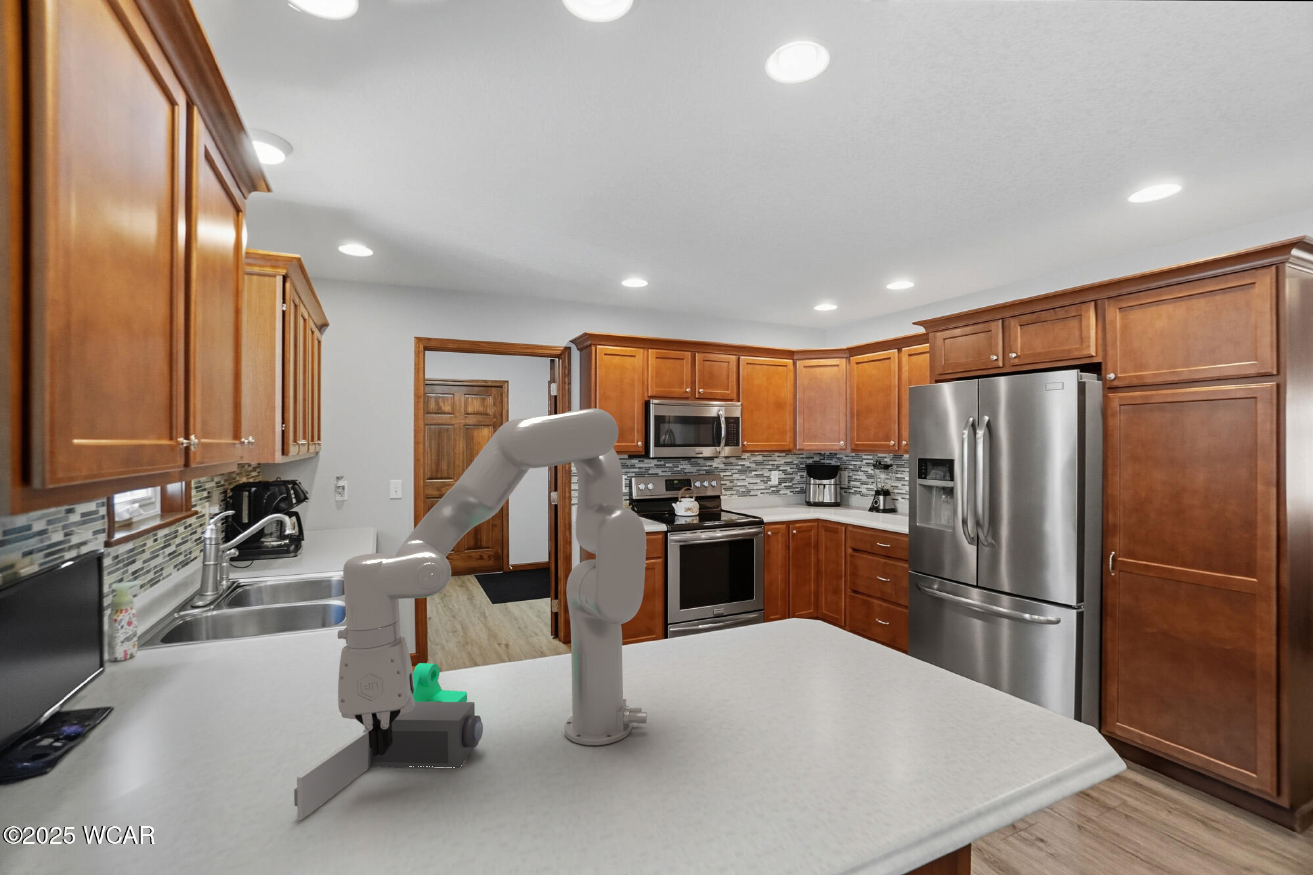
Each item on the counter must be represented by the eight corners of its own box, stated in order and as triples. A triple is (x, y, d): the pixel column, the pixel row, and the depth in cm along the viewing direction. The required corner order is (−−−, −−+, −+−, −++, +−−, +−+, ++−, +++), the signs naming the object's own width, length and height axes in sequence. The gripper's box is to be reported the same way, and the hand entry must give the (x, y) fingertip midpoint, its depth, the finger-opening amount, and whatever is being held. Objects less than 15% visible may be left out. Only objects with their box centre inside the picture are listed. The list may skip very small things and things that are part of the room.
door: (302, 820, 86) (302, 776, 87) (294, 819, 87) (293, 775, 87) (371, 767, 101) (371, 728, 101) (364, 766, 101) (364, 728, 101)
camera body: (487, 747, 107) (486, 696, 107) (472, 769, 100) (471, 714, 100) (388, 745, 108) (387, 695, 108) (366, 767, 101) (365, 713, 101)
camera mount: (438, 731, 113) (437, 677, 113) (401, 729, 115) (400, 675, 115) (469, 704, 125) (468, 654, 125) (435, 701, 127) (434, 653, 127)
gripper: (312, 647, 89) (320, 770, 89) (417, 638, 91) (424, 758, 91) (334, 630, 96) (341, 744, 97) (430, 622, 98) (436, 733, 98)
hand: (381, 750), depth 94 cm, fingers closed
